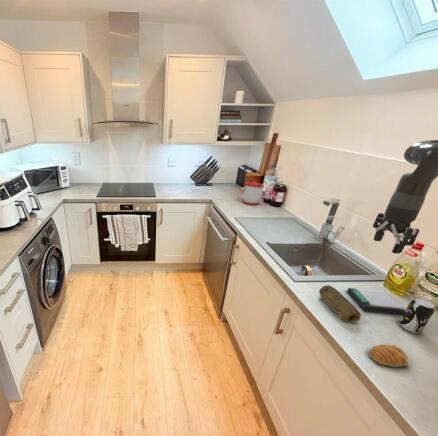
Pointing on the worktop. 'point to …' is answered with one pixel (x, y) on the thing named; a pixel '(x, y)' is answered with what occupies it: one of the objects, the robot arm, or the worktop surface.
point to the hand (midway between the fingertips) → (385, 246)
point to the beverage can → (417, 315)
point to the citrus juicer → (252, 192)
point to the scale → (375, 301)
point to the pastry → (389, 355)
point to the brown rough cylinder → (339, 304)
